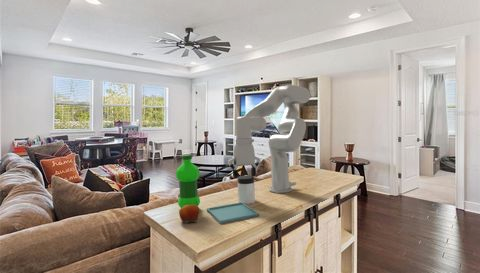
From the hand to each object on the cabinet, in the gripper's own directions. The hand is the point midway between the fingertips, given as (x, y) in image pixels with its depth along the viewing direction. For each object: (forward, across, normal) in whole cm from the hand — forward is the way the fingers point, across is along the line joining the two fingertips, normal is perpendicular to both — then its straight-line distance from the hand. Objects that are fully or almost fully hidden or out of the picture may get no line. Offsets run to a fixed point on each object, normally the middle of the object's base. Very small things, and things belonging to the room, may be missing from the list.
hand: (244, 176), depth 127 cm
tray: (+13, +12, +12) cm, 21 cm away
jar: (+12, -1, 0) cm, 12 cm away
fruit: (+13, +30, +12) cm, 35 cm away
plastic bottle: (+13, +27, -2) cm, 30 cm away
